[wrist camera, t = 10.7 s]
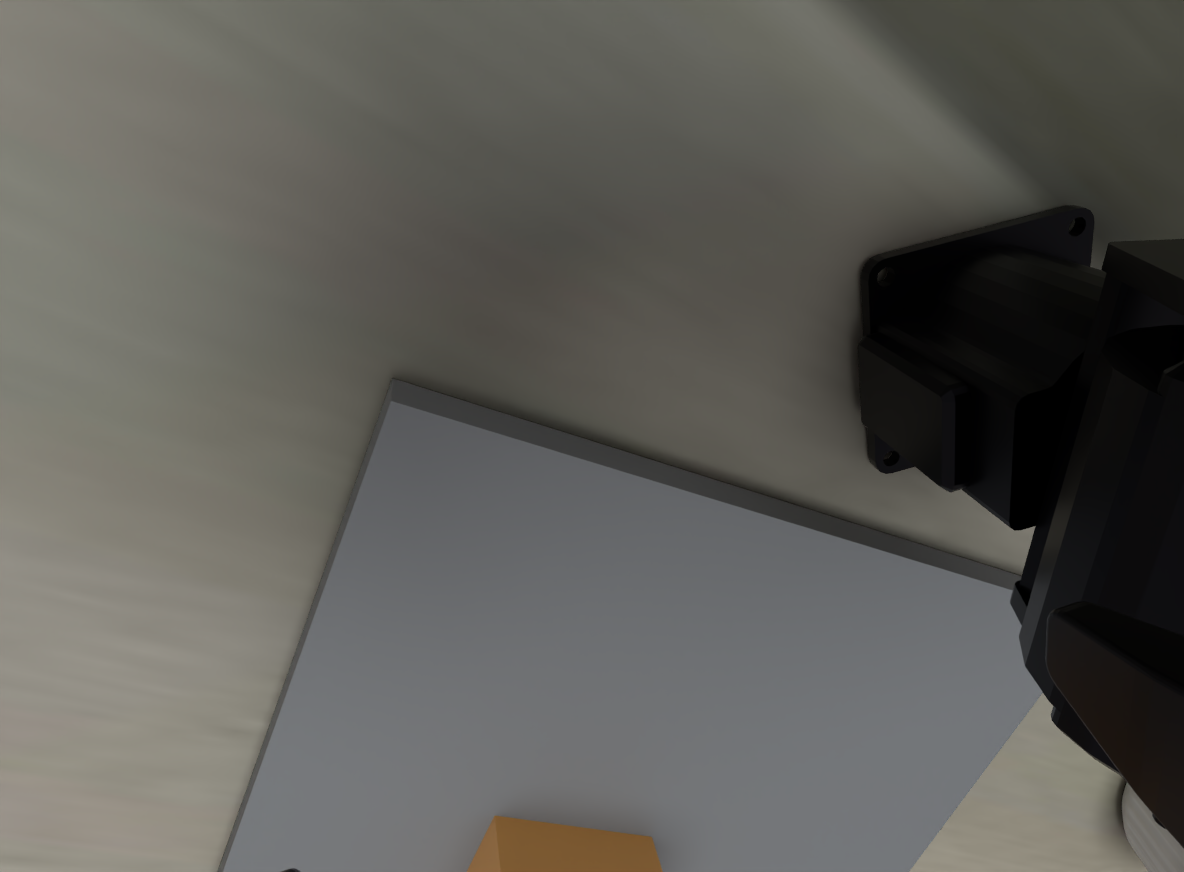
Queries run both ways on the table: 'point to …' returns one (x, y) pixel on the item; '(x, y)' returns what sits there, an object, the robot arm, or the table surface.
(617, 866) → the orange cardboard-tone cube
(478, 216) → the table surface
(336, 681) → the flat grey board
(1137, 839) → the ramekin
